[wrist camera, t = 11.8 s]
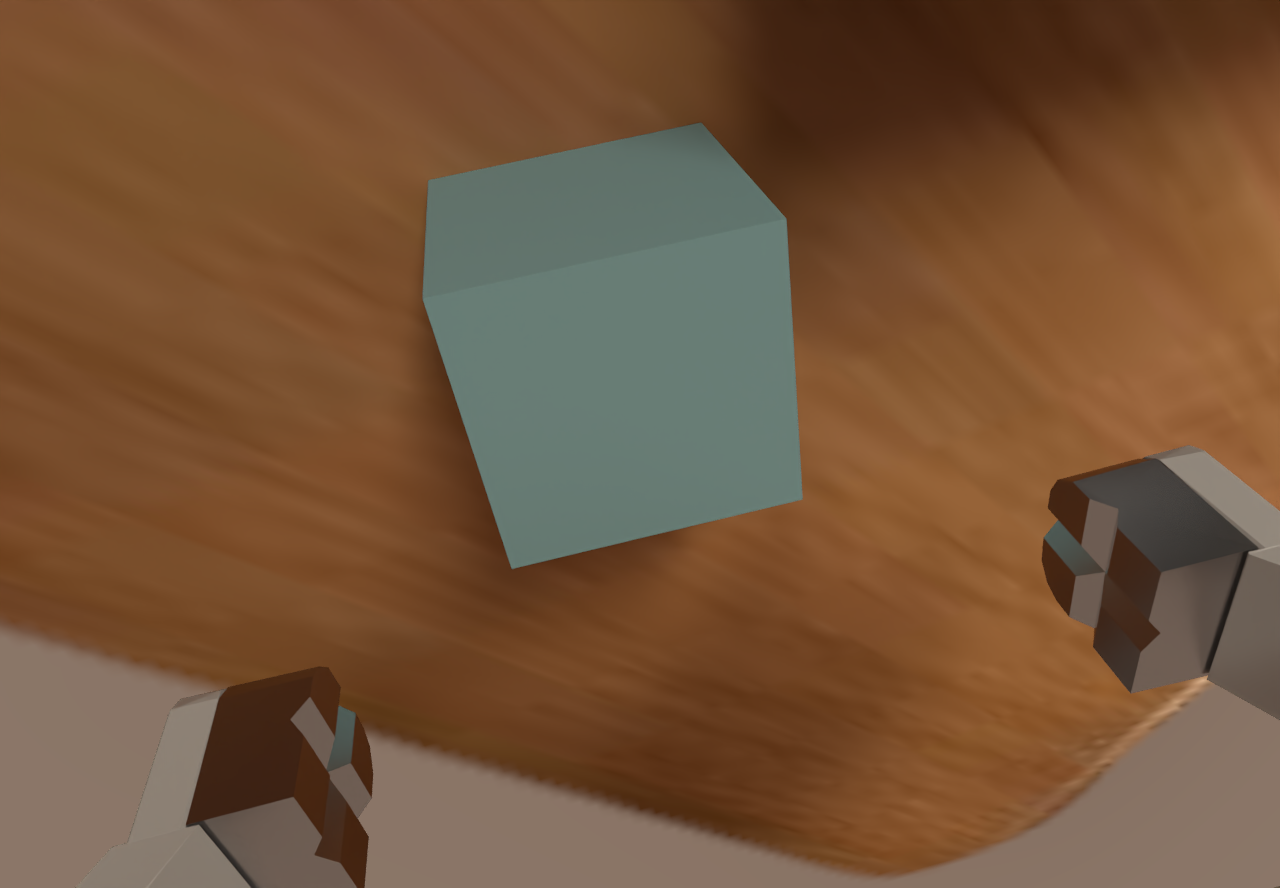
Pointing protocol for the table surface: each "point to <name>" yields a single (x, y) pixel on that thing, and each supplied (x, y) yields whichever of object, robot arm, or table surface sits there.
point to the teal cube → (616, 339)
